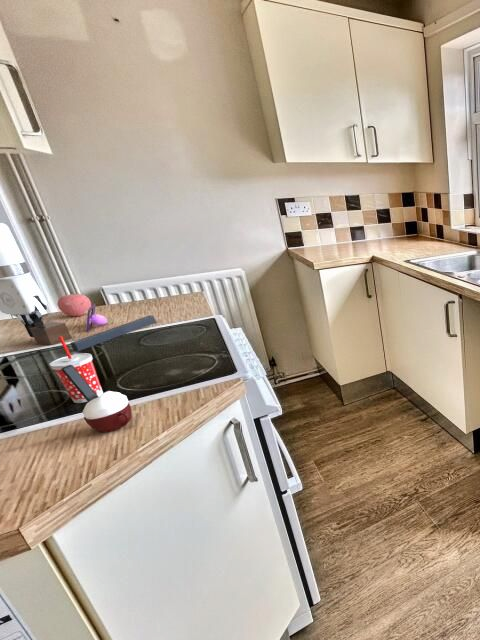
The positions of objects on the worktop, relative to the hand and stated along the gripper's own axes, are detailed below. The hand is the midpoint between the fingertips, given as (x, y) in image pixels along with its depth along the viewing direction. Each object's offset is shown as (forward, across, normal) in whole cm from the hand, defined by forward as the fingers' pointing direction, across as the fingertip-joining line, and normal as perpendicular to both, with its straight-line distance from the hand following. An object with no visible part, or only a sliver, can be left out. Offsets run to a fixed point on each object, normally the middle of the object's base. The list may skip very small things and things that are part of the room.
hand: (39, 335), depth 118 cm
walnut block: (+2, +5, 0) cm, 5 cm away
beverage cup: (+2, +48, -26) cm, 55 cm away
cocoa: (+2, +64, -34) cm, 73 cm away
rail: (+2, +19, +6) cm, 20 cm away
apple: (+2, -13, +20) cm, 24 cm away
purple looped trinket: (+2, +5, +12) cm, 13 cm away
